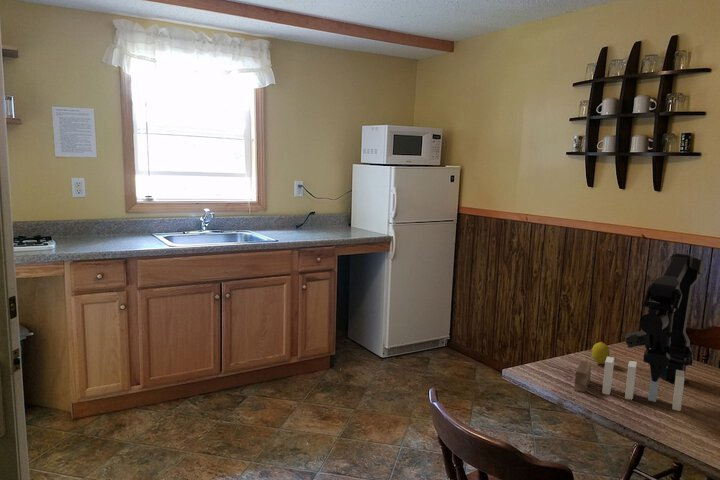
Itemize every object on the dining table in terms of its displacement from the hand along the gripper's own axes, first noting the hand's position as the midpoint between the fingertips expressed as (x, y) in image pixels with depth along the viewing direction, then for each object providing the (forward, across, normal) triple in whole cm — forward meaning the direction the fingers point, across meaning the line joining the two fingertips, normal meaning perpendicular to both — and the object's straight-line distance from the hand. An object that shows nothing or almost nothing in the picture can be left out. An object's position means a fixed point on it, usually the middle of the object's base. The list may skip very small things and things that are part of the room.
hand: (654, 378), depth 148 cm
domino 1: (+7, 0, -12) cm, 14 cm away
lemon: (+7, -22, -17) cm, 29 cm away
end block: (+7, 0, -19) cm, 20 cm away
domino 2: (+7, 0, -6) cm, 9 cm away
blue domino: (+6, 0, 0) cm, 6 cm away
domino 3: (+7, 0, +6) cm, 9 cm away
